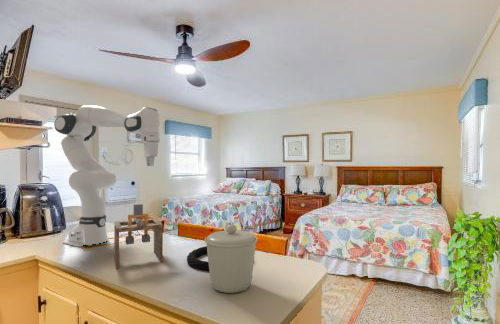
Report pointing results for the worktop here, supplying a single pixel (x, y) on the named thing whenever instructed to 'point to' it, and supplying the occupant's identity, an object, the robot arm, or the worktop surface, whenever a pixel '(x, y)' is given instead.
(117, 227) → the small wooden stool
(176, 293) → the worktop surface
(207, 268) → the cable lock
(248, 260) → the canister
